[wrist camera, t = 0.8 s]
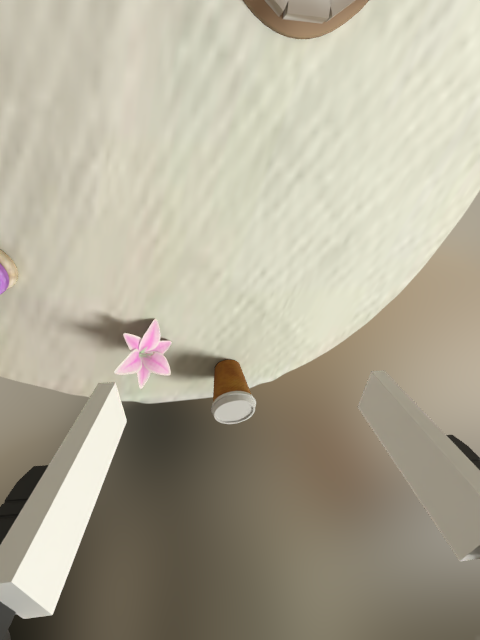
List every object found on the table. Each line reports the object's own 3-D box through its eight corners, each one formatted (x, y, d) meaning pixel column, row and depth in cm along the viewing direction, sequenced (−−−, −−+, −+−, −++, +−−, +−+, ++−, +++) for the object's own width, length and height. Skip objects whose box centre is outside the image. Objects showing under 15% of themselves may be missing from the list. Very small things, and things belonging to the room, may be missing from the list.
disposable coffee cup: (199, 372, 57) (202, 418, 48) (224, 348, 54) (232, 393, 44) (229, 384, 62) (236, 428, 53) (254, 363, 58) (266, 406, 49)
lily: (170, 360, 54) (186, 379, 47) (114, 378, 48) (122, 403, 41) (162, 310, 50) (178, 323, 43) (100, 323, 44) (105, 340, 37)
